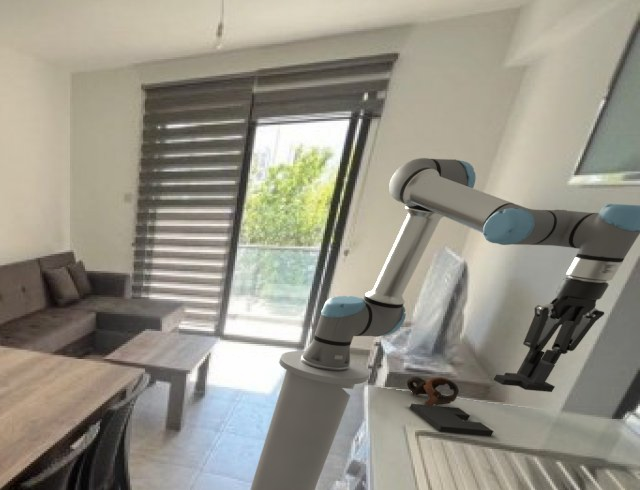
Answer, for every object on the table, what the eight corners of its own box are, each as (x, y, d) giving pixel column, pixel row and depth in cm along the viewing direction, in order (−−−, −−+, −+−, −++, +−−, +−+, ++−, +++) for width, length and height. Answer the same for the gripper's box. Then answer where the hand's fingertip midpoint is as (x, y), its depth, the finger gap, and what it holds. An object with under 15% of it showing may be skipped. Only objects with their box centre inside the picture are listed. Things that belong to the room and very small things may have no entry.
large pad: (409, 408, 132) (411, 403, 131) (456, 412, 131) (458, 407, 130) (439, 431, 120) (441, 426, 119) (491, 436, 119) (494, 431, 118)
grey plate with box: (487, 376, 126) (499, 352, 123) (527, 379, 125) (541, 356, 121) (508, 388, 119) (522, 363, 116) (551, 392, 118) (566, 367, 115)
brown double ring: (447, 401, 139) (467, 383, 132) (436, 422, 136) (455, 406, 129) (404, 381, 144) (421, 363, 136) (392, 401, 140) (408, 384, 133)
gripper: (563, 280, 106) (508, 378, 118) (640, 285, 105) (578, 384, 116) (537, 274, 113) (488, 367, 124) (609, 278, 111) (553, 373, 123)
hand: (531, 375), depth 120 cm, fingers closed on grey plate with box, 2 cm apart
